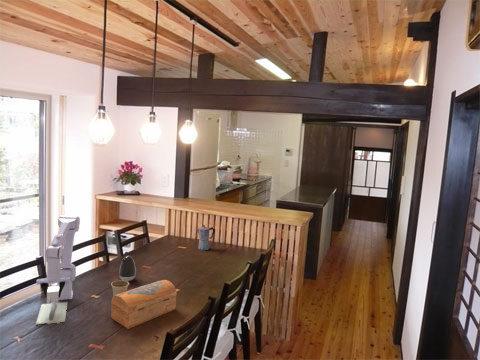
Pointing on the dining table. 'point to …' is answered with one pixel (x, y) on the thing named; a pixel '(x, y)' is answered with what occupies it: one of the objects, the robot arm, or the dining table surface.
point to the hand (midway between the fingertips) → (53, 297)
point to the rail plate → (56, 316)
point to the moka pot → (204, 237)
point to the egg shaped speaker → (127, 269)
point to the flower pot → (119, 287)
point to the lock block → (53, 294)
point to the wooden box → (143, 303)
